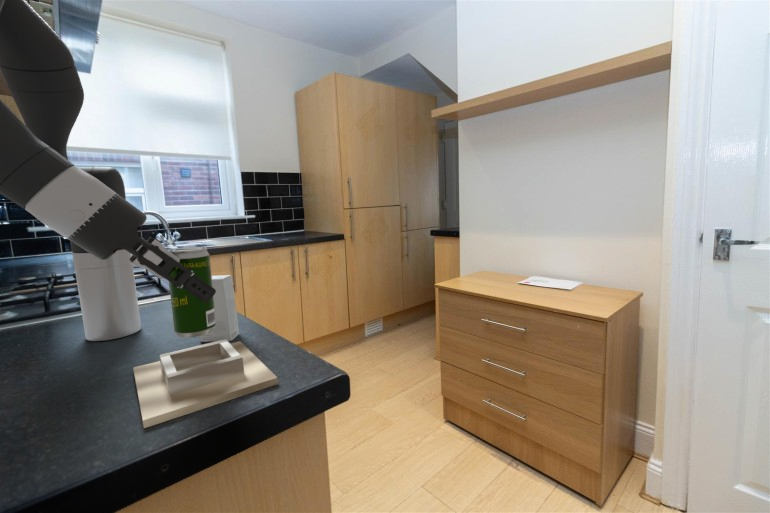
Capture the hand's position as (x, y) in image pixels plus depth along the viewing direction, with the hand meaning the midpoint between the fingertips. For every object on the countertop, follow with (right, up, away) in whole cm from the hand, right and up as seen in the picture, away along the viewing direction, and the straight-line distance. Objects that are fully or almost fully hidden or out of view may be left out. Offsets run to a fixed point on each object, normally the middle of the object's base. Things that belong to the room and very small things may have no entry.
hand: (206, 292), depth 54 cm
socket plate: (-1, -13, +1) cm, 13 cm away
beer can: (-1, -6, 0) cm, 6 cm away
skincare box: (-6, -11, +17) cm, 21 cm away
